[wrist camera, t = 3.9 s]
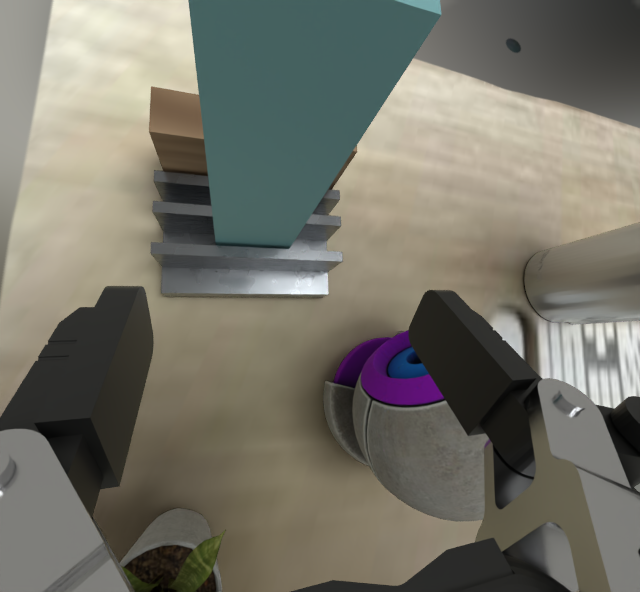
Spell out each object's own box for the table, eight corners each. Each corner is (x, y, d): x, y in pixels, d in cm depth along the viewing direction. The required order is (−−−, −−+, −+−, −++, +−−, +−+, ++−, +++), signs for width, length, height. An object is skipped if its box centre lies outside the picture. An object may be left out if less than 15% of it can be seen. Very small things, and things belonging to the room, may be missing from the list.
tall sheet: (282, 258, 28) (441, 14, 7) (217, 256, 27) (181, -66, 6) (282, 241, 28) (435, -43, 8) (217, 238, 27) (183, -135, 6)
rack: (322, 297, 31) (343, 286, 25) (165, 296, 27) (149, 283, 21) (317, 165, 33) (336, 127, 27) (171, 146, 29) (157, 97, 23)
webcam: (403, 309, 33) (535, 283, 19) (462, 414, 33) (636, 466, 19) (299, 376, 29) (369, 407, 15) (366, 496, 29) (499, 639, 15)
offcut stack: (320, 206, 30) (357, 151, 21) (171, 192, 26) (144, 120, 18) (319, 177, 30) (354, 111, 22) (172, 159, 27) (147, 73, 18)
